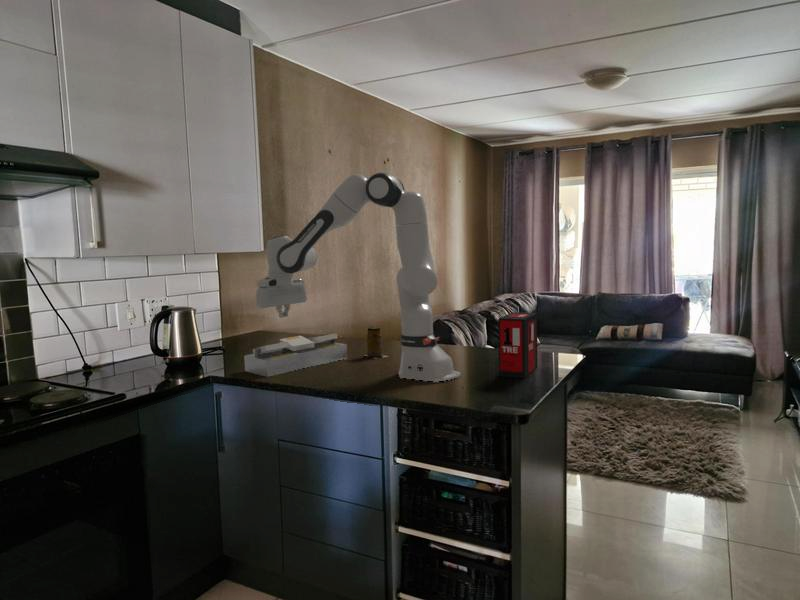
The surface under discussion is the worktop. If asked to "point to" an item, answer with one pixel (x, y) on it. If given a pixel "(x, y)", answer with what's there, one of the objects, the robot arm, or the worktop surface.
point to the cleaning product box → (517, 344)
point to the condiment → (374, 343)
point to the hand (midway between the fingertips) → (283, 317)
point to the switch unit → (294, 358)
